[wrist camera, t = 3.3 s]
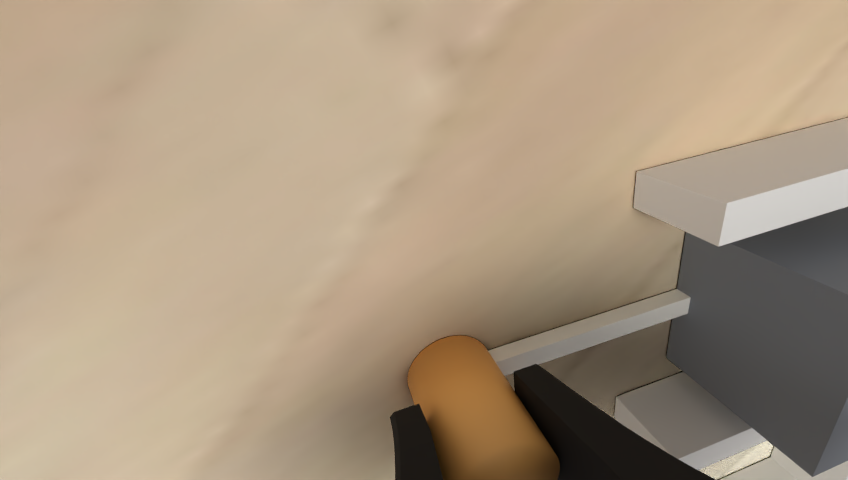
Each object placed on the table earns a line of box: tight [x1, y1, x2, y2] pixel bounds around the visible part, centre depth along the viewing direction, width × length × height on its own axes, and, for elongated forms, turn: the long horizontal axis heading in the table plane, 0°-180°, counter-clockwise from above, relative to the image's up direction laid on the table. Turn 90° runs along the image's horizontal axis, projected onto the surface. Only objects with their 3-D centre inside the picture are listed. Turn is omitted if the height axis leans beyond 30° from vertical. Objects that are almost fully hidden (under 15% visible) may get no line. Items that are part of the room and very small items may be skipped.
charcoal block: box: [408, 207, 848, 480], centre depth 11 cm, size 5×14×4 cm, turn 98°
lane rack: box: [614, 118, 848, 480], centre depth 12 cm, size 25×10×2 cm, turn 8°
